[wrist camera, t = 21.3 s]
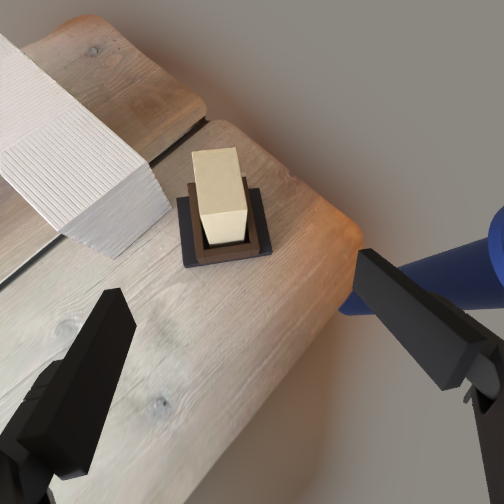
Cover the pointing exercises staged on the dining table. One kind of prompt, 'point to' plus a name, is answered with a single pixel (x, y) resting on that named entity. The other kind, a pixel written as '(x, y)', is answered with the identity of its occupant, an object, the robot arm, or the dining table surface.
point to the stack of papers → (72, 161)
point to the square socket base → (201, 254)
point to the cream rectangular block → (220, 196)
